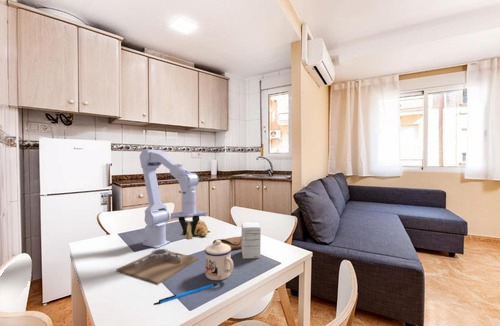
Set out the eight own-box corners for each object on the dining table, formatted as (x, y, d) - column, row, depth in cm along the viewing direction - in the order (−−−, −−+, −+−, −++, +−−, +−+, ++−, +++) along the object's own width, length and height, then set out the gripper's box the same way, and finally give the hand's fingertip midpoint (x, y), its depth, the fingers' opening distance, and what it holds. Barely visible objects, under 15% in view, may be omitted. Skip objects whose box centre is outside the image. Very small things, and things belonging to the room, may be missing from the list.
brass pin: (183, 238, 96) (183, 222, 95) (188, 236, 98) (188, 220, 98) (189, 239, 94) (189, 223, 94) (193, 237, 97) (194, 221, 97)
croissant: (210, 243, 118) (217, 228, 120) (194, 237, 113) (202, 222, 115) (193, 231, 135) (199, 218, 137) (178, 226, 129) (185, 213, 131)
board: (116, 270, 81) (116, 269, 81) (160, 250, 99) (160, 249, 99) (158, 284, 73) (158, 282, 73) (197, 259, 91) (197, 257, 91)
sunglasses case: (218, 254, 96) (216, 237, 99) (213, 257, 101) (211, 241, 104) (256, 246, 104) (252, 231, 107) (249, 249, 110) (246, 235, 113)
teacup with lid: (199, 274, 79) (199, 240, 79) (219, 265, 86) (220, 234, 85) (221, 288, 71) (221, 250, 70) (242, 277, 77) (242, 242, 77)
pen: (153, 304, 63) (153, 300, 63) (217, 284, 73) (217, 281, 73) (154, 306, 62) (154, 302, 62) (218, 285, 72) (218, 282, 72)
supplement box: (241, 251, 99) (241, 222, 99) (258, 250, 99) (258, 221, 99) (242, 259, 91) (242, 227, 91) (260, 258, 92) (260, 227, 92)
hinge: (129, 267, 83) (129, 261, 83) (160, 252, 95) (160, 247, 95) (158, 275, 77) (158, 269, 77) (187, 259, 89) (187, 253, 89)
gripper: (170, 205, 90) (170, 239, 90) (207, 202, 95) (207, 235, 95) (170, 201, 96) (170, 233, 97) (205, 199, 101) (205, 230, 102)
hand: (188, 234), depth 96 cm, fingers closed on brass pin, 3 cm apart
